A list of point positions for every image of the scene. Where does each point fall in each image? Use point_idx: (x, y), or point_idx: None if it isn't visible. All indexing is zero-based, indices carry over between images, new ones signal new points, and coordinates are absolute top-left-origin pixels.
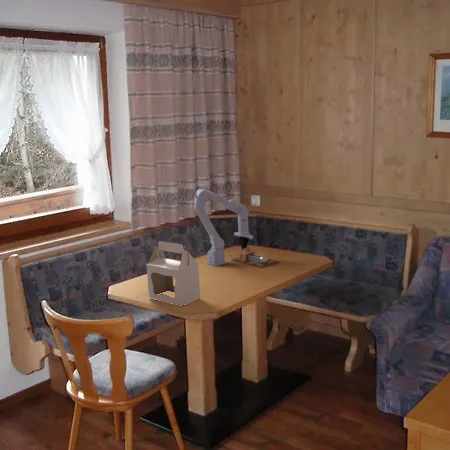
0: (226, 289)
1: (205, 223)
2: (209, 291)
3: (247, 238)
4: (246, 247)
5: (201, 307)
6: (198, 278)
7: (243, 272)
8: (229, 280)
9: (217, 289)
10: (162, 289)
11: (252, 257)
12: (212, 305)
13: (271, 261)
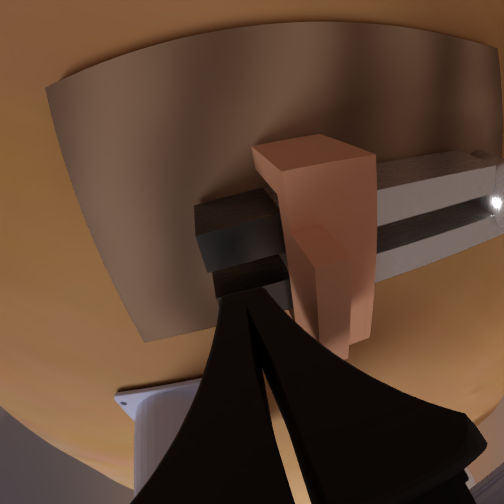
0: (470, 401)
1: None
2: None
3: (452, 480)
4: (278, 307)
5: None
6: (468, 469)
7: (445, 342)
8: (445, 396)
9: None
10: None
11: (427, 258)
12: (480, 417)
13: (479, 93)
